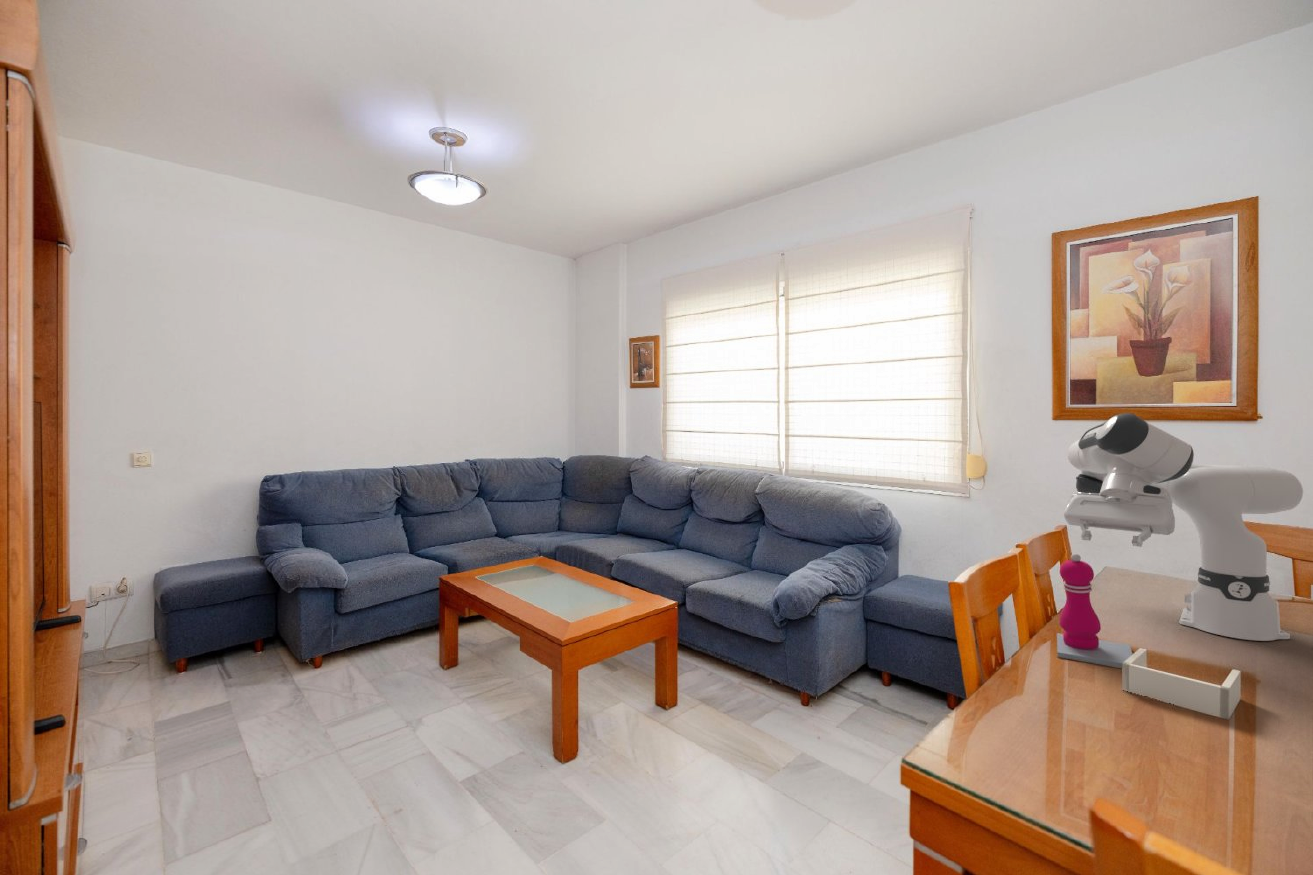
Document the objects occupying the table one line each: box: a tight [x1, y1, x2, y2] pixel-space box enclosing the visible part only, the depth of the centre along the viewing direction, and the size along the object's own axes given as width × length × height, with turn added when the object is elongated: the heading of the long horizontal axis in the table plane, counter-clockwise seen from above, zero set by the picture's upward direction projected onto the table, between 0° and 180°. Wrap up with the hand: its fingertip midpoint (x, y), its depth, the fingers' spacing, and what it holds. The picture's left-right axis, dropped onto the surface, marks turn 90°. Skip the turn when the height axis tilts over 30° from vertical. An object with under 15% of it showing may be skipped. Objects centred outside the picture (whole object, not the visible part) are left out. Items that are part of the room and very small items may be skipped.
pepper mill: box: [1059, 553, 1102, 649], centre depth 125 cm, size 7×7×20 cm
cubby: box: [1121, 647, 1242, 721], centre depth 105 cm, size 12×14×5 cm
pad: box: [1056, 633, 1134, 669], centre depth 124 cm, size 14×13×1 cm
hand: (1110, 541), depth 132 cm, fingers open, 8 cm apart
